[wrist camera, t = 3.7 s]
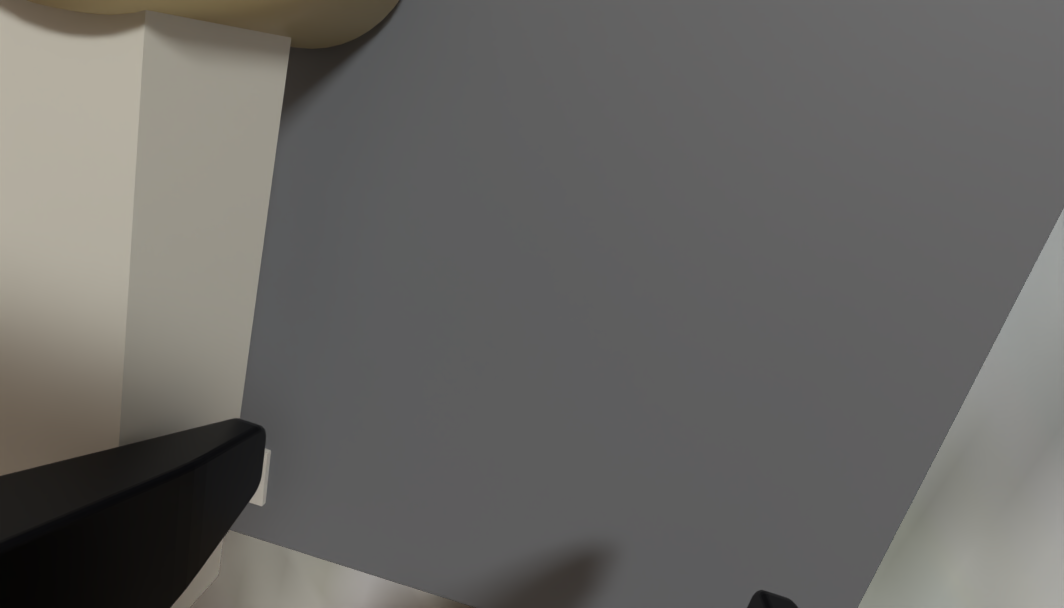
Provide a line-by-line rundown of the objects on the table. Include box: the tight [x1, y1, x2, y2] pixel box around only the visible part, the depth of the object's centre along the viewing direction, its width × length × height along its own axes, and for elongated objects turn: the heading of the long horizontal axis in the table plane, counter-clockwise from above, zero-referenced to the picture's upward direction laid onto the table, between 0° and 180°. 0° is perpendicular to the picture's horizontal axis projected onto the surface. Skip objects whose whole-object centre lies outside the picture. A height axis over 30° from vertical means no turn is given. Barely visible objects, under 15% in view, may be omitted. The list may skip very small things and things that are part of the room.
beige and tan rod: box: [0, 0, 399, 608], centre depth 8 cm, size 12×4×4 cm, turn 164°
